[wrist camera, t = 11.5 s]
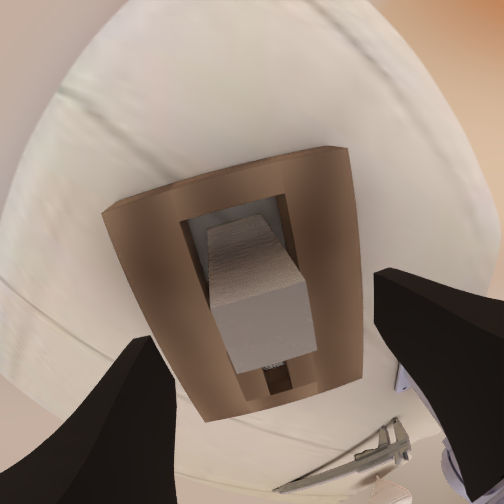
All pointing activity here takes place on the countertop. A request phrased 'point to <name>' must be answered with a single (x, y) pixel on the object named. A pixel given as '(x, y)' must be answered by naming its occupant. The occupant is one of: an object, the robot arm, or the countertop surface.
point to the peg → (257, 295)
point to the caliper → (360, 460)
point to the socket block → (197, 290)
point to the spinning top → (389, 493)
